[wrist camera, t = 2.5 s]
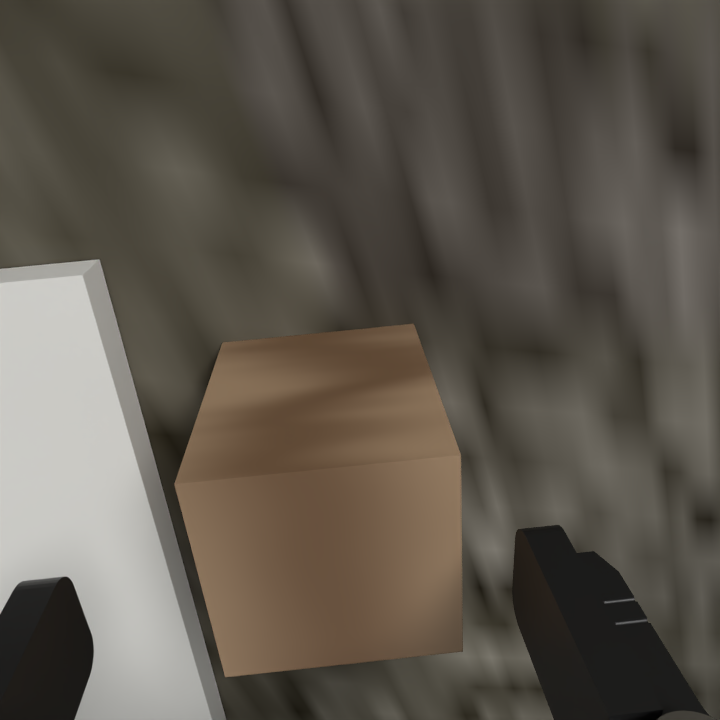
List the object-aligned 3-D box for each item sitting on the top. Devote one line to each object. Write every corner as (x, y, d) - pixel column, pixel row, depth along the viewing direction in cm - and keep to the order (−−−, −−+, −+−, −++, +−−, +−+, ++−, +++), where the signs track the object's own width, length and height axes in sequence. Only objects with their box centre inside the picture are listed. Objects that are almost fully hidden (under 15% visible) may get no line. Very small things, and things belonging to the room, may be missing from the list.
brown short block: (413, 323, 16) (460, 455, 11) (420, 478, 18) (462, 651, 13) (222, 341, 16) (174, 484, 11) (252, 495, 18) (225, 677, 13)
